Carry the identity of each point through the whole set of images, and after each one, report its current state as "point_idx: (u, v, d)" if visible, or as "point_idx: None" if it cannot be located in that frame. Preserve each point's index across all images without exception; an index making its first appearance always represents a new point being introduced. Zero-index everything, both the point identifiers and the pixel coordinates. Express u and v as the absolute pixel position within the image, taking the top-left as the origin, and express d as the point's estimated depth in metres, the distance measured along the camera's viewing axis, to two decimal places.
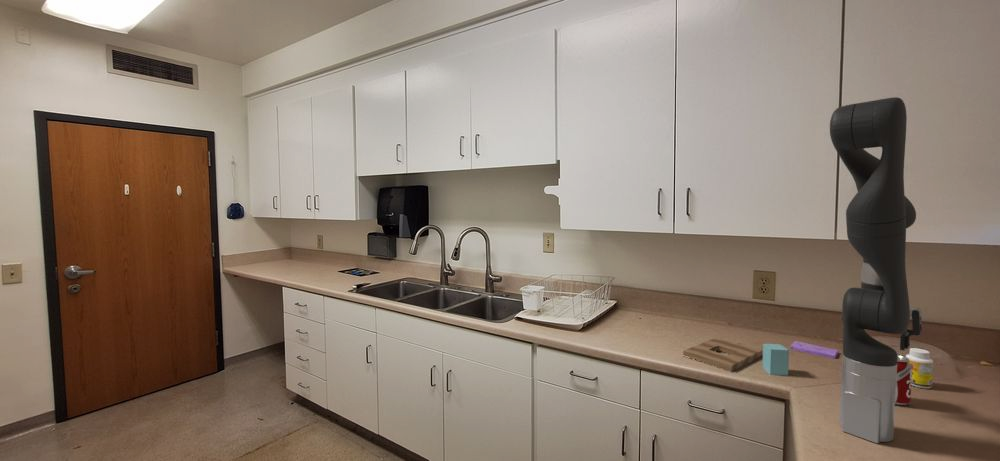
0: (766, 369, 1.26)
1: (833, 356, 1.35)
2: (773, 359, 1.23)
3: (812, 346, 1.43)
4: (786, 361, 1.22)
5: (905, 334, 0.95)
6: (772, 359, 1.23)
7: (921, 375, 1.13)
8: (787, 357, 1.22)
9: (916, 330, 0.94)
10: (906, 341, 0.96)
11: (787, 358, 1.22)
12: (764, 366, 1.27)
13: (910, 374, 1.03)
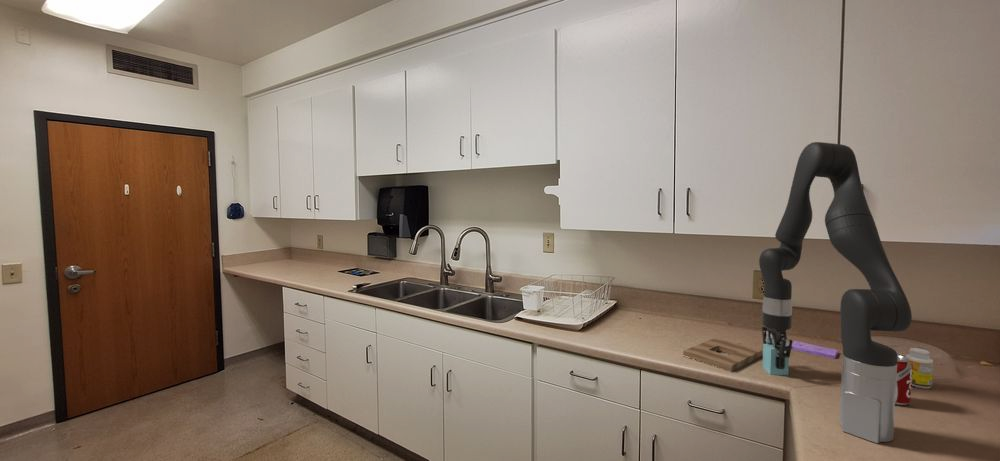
0: (766, 369, 1.26)
1: (833, 356, 1.35)
2: (773, 359, 1.23)
3: (812, 346, 1.43)
4: (786, 361, 1.22)
5: None
6: (772, 359, 1.23)
7: (921, 375, 1.13)
8: (787, 357, 1.22)
9: None
10: None
11: (787, 358, 1.22)
12: (764, 365, 1.27)
13: (910, 374, 1.03)
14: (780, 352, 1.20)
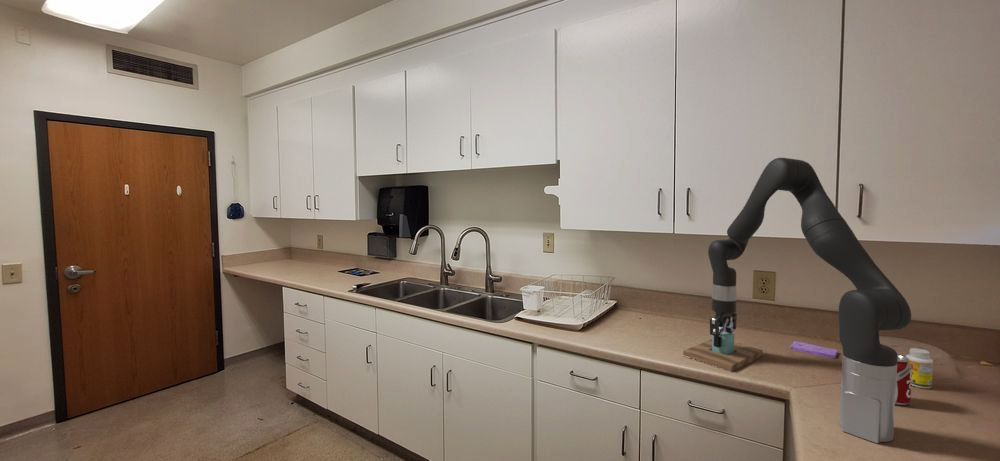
0: None
1: (833, 356, 1.35)
2: None
3: (812, 346, 1.43)
4: (725, 347, 1.35)
5: (732, 331, 1.39)
6: (713, 342, 1.38)
7: (921, 375, 1.13)
8: (725, 343, 1.35)
9: (735, 326, 1.40)
10: None
11: (726, 344, 1.35)
12: None
13: (910, 374, 1.03)
14: None
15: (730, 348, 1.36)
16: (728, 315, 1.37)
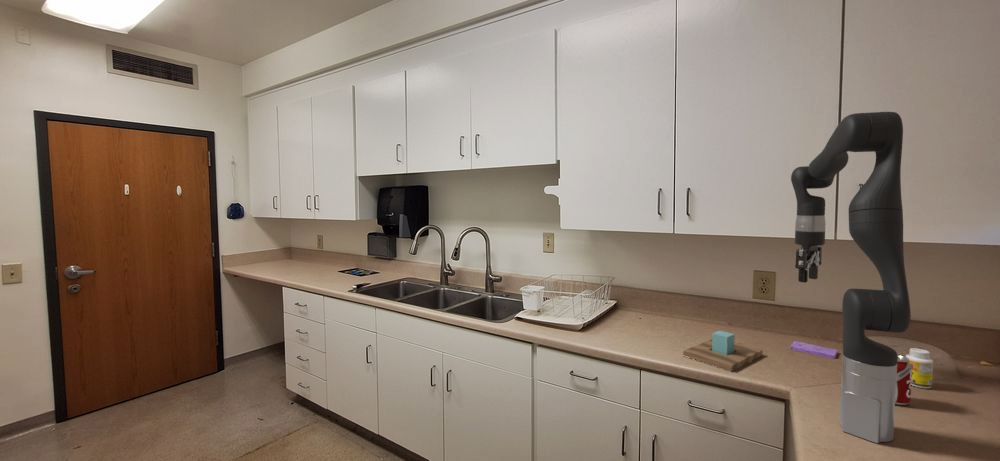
0: None
1: (833, 356, 1.35)
2: (714, 342, 1.38)
3: (812, 346, 1.43)
4: (725, 347, 1.35)
5: (818, 266, 1.28)
6: (713, 342, 1.38)
7: (921, 375, 1.13)
8: (725, 343, 1.35)
9: (820, 261, 1.29)
10: None
11: (726, 344, 1.35)
12: None
13: (910, 374, 1.03)
14: None
15: (730, 348, 1.36)
16: (814, 249, 1.26)
